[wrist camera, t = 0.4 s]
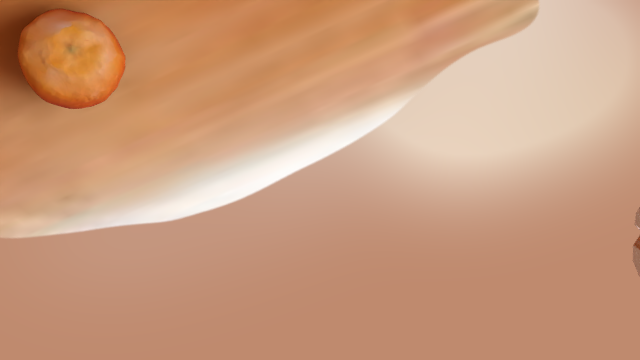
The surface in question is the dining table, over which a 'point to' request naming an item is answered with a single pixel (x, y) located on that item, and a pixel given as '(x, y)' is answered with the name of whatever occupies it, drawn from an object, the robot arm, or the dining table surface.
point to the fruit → (70, 58)
